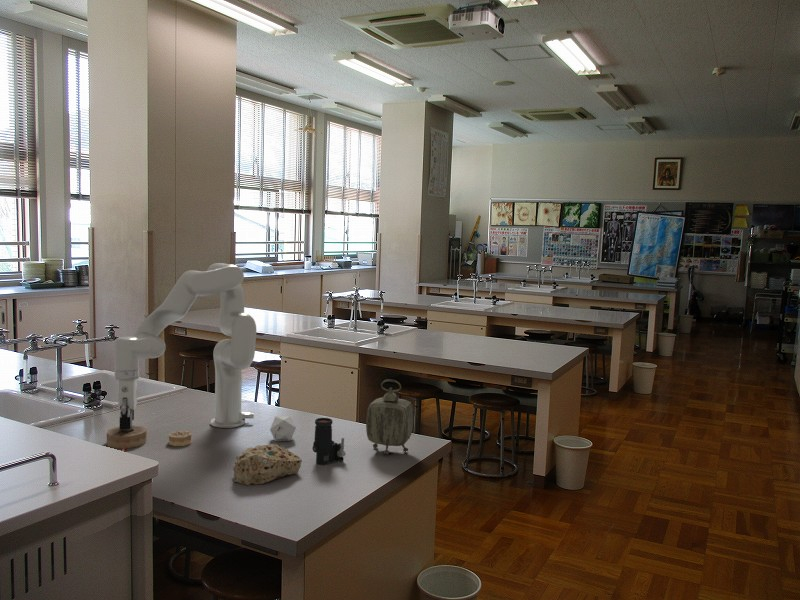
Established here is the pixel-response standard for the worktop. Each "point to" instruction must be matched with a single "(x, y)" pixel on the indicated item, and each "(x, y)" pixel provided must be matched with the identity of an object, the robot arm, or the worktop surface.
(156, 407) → the worktop surface
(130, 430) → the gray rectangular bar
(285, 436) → the die
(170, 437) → the beige short cylinder
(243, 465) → the rock
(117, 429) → the bead
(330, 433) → the scope
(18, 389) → the worktop surface
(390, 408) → the tabletop clock
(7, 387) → the worktop surface
